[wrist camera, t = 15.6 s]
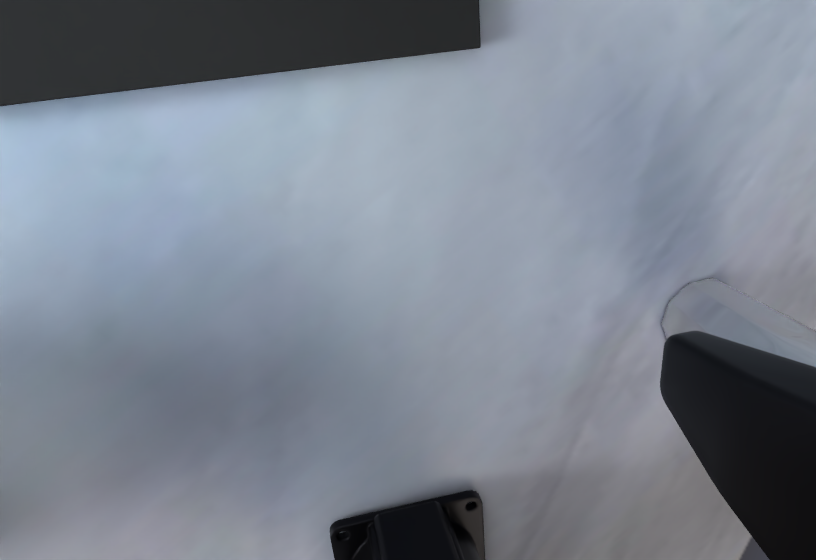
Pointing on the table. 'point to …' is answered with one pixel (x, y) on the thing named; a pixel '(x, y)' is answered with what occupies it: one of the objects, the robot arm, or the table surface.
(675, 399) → the robot arm
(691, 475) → the table surface
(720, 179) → the table surface
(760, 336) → the milkshake
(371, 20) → the desk mat
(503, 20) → the table surface
